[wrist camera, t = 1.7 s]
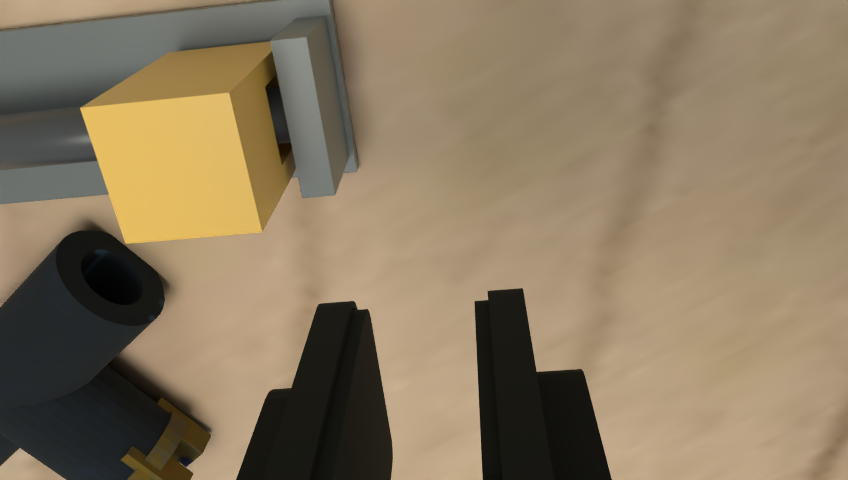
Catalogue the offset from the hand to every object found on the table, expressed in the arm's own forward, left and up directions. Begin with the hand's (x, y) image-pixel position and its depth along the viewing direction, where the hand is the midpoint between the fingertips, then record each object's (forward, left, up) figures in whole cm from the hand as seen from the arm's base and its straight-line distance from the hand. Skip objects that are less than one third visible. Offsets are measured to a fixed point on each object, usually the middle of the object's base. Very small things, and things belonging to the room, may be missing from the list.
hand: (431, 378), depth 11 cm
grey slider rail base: (+14, 0, -19) cm, 24 cm away
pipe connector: (+19, +14, -20) cm, 31 cm away
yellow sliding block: (+8, 0, -18) cm, 20 cm away
